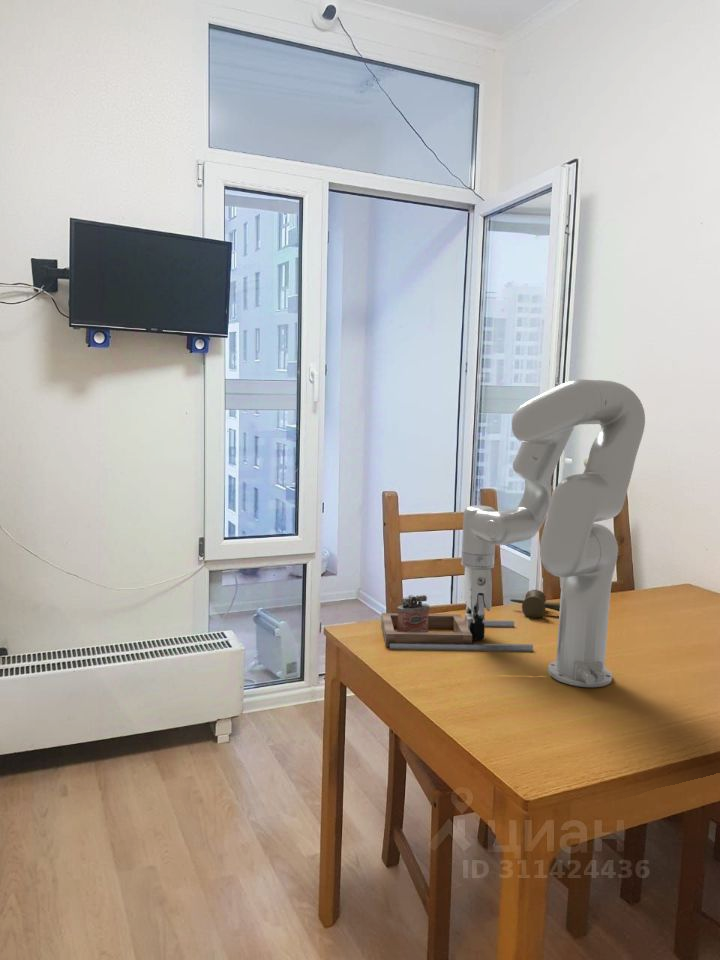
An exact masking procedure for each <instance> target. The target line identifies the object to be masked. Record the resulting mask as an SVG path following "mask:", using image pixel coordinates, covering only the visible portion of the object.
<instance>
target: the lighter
mask: <svg viewBox="0 0 720 960" xmlns="http://www.w3.org/2000/svg"><path fill="white" fill-rule="evenodd" d="M427 600H428V596H427V595H426V594H420V595H416V596H415V595H413V594H409V595H408V596H406V597H402V600H401V601H402V605H398V606H397V607H396V610H397V614H398V626H397V627H396V628H397V629H396V630H397V631H396V632H429V631H428V630H429V628H428V614H429V610H430V604H428V603H423V602H427Z"/></svg>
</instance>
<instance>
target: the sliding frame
mask: <svg viewBox="0 0 720 960" xmlns="http://www.w3.org/2000/svg"><path fill="white" fill-rule="evenodd" d="M475 615H476V614H475ZM380 616H381V619H380V624H381V625H380V626H381V631H382V635H383V641H384V645H385V647H386V648H389V646H390V642H400V643H465V644H473V640H472V634H471V632H470V622H472V614H466V613H464V618H463V617H462V615H461V614H454V613H453V614H452V613H451V614H445V613H444V614H443V613H440V614H439V613H436V614H435V613H428V629H452V630H453V632H437V631H436V632H434V631H433V632H431V631H428V632H397V631H395V628H397V626H398V612H397V613H396V612H395V613H393V612H392V613H391V612H390V613H387V612H386V613H384V612H383V613H381V615H380ZM484 619H485V620H486V618H485V617H484ZM464 620H465V622H464ZM484 623H485V622H484ZM485 632H486V627H485V624H484V635H485ZM482 641H485V638H484V639H483V640H482Z"/></svg>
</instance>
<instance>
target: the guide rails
mask: <svg viewBox="0 0 720 960" xmlns="http://www.w3.org/2000/svg"><path fill="white" fill-rule="evenodd" d="M463 620H464V622H465V619H463ZM486 627H489V628H492V627H493V628H495V627H497V628H503V627H504V628H515V621H514V620H488V619H487V620H486V619H485V628H486ZM388 648H389V650H409V651H410V650H418V651H420V650H422V651H423V650H424V651H425V650H426V651H428V650H429V651H480V652H481V651H482V652H483V651H485V652H486V651H489V652H490V651H491V652H493V651H496V652H497V651H498V652H533V651H534V645H533V644H525V643H524V644H523V643H522V644H520V643H519V644H517V643H511V644H510V643H502V644H501V643H472V644H465V643H400V642H390V646H389V647H388Z"/></svg>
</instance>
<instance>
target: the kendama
mask: <svg viewBox="0 0 720 960" xmlns="http://www.w3.org/2000/svg"><path fill="white" fill-rule="evenodd" d="M546 599H547V598H546V595H545V592H543V591H541V590H539V589H531V590H528V591H527V592H526V594H525V597H524V599H518V598H513V599H511V598H510V599H509V601H510V602H513V603H516V604H517V603H518V604H521V610H522V613H523V614H524V616H525V617H527V618H528V617H530V619H535V618H536V619H541V618H542V617H543V616H544V615H545V612H546V609H549V610H554V611H557V612H560V602H550V601H549V602H547V600H546Z"/></svg>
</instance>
